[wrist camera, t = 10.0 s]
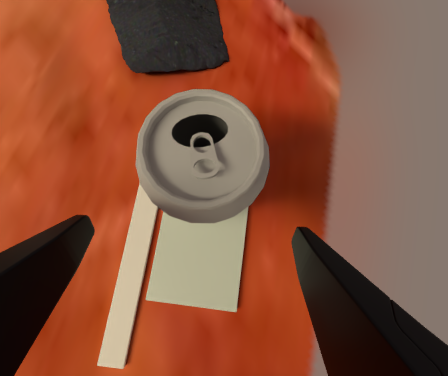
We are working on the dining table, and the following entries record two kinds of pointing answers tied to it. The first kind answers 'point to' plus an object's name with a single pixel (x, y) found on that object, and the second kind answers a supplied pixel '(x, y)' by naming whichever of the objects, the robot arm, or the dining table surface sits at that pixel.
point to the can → (202, 156)
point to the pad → (198, 263)
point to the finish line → (128, 284)
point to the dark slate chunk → (168, 34)
